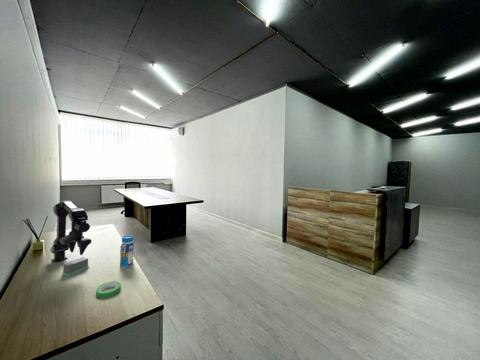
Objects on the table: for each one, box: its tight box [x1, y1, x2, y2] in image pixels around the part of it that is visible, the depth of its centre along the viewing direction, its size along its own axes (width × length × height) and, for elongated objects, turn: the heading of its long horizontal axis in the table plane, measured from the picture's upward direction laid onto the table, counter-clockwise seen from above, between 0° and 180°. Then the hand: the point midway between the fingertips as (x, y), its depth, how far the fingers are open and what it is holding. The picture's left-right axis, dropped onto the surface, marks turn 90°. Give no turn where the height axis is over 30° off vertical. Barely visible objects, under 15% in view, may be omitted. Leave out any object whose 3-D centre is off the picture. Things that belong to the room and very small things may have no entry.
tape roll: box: [95, 280, 122, 299], centre depth 105 cm, size 11×11×3 cm
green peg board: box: [61, 264, 90, 277], centre depth 124 cm, size 5×12×4 cm, turn 160°
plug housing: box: [62, 256, 89, 274], centre depth 124 cm, size 5×11×5 cm, turn 160°
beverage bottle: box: [119, 235, 135, 269], centre depth 135 cm, size 8×8×20 cm
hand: (76, 253), depth 124 cm, fingers open, 9 cm apart
